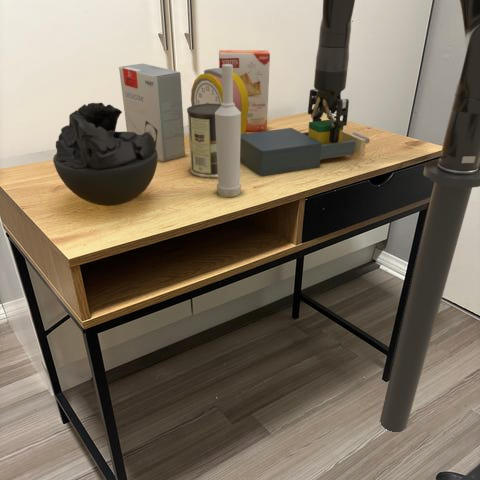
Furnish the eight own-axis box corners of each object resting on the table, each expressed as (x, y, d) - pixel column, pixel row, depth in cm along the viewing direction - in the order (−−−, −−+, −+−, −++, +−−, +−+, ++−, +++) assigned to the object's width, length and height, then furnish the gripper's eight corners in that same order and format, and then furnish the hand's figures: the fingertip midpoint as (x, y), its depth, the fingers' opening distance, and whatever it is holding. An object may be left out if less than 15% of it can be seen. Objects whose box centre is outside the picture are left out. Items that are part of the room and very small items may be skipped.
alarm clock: (191, 138, 144) (187, 66, 133) (213, 132, 148) (211, 63, 138) (225, 149, 135) (224, 74, 124) (248, 143, 139) (249, 70, 129)
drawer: (347, 139, 139) (348, 124, 137) (377, 153, 129) (379, 137, 127) (286, 147, 133) (287, 132, 131) (313, 163, 123) (315, 147, 121)
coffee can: (234, 164, 125) (234, 103, 117) (231, 178, 117) (231, 114, 109) (193, 163, 126) (190, 102, 118) (187, 177, 118) (183, 113, 109)
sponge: (330, 143, 133) (332, 119, 129) (341, 148, 129) (343, 123, 126) (307, 146, 130) (309, 122, 127) (317, 151, 127) (319, 126, 123)
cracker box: (220, 132, 149) (218, 52, 136) (219, 126, 153) (218, 49, 141) (267, 132, 149) (270, 52, 137) (266, 126, 154) (268, 49, 142)
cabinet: (290, 150, 135) (291, 127, 131) (319, 167, 124) (321, 142, 120) (235, 157, 129) (235, 134, 126) (261, 176, 118) (262, 151, 115)
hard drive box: (127, 149, 135) (117, 66, 124) (151, 143, 140) (143, 62, 128) (162, 162, 126) (155, 74, 115) (186, 155, 130) (181, 70, 119)
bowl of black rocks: (134, 178, 117) (123, 90, 106) (179, 206, 104) (172, 109, 93) (49, 198, 107) (27, 103, 96) (86, 231, 94) (66, 126, 83)
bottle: (245, 194, 109) (246, 65, 94) (224, 199, 107) (221, 68, 92) (233, 187, 113) (232, 62, 98) (212, 191, 110) (208, 64, 96)
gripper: (362, 71, 115) (353, 144, 124) (328, 61, 126) (322, 129, 135) (334, 73, 113) (326, 147, 122) (302, 63, 123) (297, 132, 133)
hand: (324, 138), depth 128 cm, fingers open, 8 cm apart
